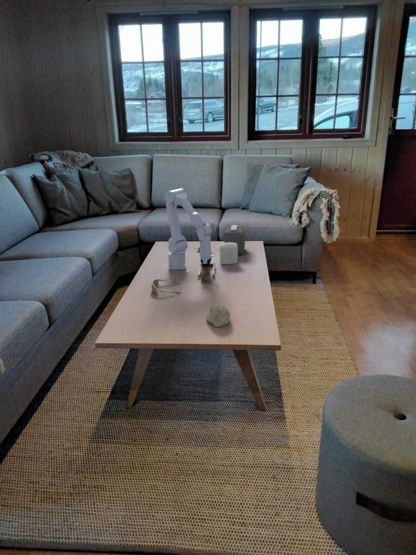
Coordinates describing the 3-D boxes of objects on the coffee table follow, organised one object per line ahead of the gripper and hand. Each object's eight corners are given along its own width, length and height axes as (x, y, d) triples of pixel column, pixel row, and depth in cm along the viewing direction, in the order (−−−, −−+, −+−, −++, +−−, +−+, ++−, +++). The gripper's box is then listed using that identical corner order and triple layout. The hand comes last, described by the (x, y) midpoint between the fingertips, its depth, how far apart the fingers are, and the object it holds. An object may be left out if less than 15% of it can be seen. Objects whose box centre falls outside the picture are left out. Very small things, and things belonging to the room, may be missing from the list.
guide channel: (198, 278, 219) (198, 274, 219) (200, 266, 234) (199, 263, 233) (214, 277, 219) (214, 274, 218) (215, 266, 234) (215, 263, 233)
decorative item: (240, 314, 172) (221, 311, 166) (231, 332, 174) (213, 330, 168) (224, 300, 181) (207, 297, 175) (217, 317, 184) (199, 315, 177)
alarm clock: (227, 247, 264) (226, 223, 258) (245, 247, 263) (245, 223, 256) (224, 255, 249) (224, 231, 243) (243, 256, 248) (243, 231, 242)
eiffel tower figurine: (214, 255, 252) (213, 234, 247) (197, 257, 250) (196, 236, 245) (208, 247, 266) (207, 227, 261) (193, 249, 264) (191, 229, 259)
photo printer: (236, 261, 240) (236, 240, 235) (238, 263, 236) (238, 243, 232) (219, 262, 239) (218, 242, 234) (220, 265, 235) (220, 244, 230)
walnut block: (201, 283, 213) (200, 272, 211) (202, 277, 221) (201, 266, 218) (210, 282, 213) (209, 272, 211) (210, 276, 220) (210, 266, 218)
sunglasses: (151, 285, 213) (152, 276, 212) (180, 287, 215) (181, 278, 213) (150, 297, 200) (151, 287, 199) (181, 298, 202) (182, 289, 200)
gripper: (212, 251, 209) (213, 276, 214) (213, 242, 222) (214, 266, 227) (198, 252, 209) (199, 276, 214) (200, 243, 222) (201, 266, 228)
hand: (206, 271), depth 221 cm, fingers closed
